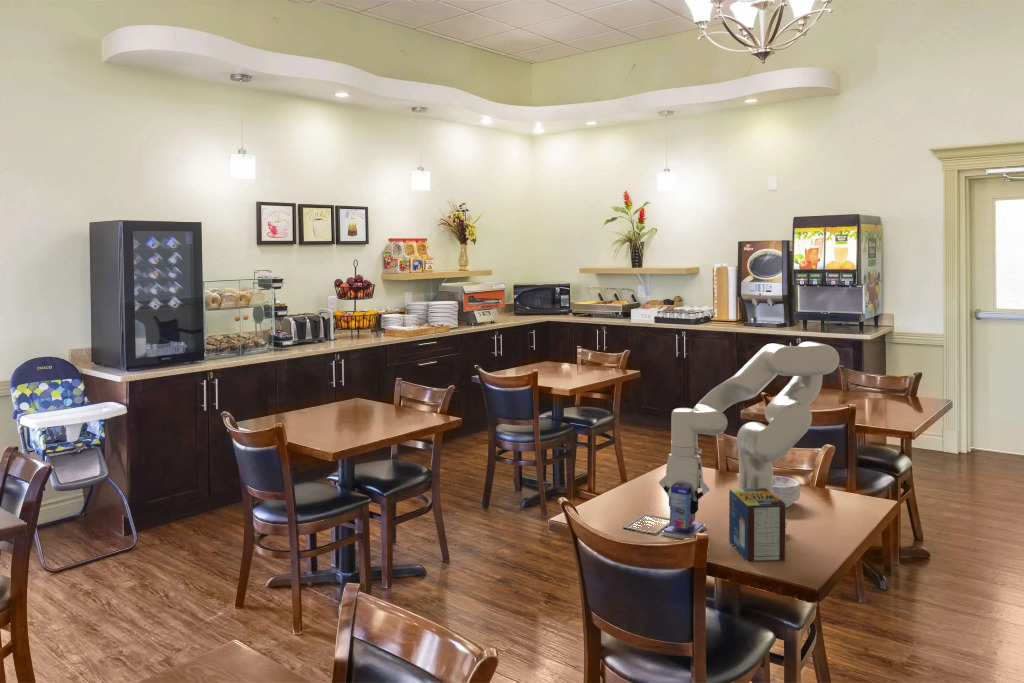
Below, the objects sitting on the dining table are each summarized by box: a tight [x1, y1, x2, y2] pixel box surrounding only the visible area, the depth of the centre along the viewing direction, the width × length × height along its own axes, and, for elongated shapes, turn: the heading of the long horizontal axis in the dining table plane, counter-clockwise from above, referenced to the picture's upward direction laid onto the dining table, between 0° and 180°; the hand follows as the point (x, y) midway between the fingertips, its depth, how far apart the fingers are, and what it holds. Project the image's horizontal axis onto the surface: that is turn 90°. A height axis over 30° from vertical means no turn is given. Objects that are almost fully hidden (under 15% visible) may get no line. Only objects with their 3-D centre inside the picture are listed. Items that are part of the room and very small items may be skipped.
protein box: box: [728, 488, 787, 562], centre depth 209 cm, size 10×15×16 cm
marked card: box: [622, 513, 670, 535], centre depth 232 cm, size 11×15×1 cm
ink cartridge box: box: [669, 484, 696, 529], centre depth 225 cm, size 10×6×14 cm, turn 152°
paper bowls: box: [773, 475, 801, 508], centre depth 250 cm, size 15×15×8 cm
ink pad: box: [661, 521, 707, 540], centre depth 226 cm, size 9×13×2 cm
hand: (683, 510), depth 225 cm, fingers closed on ink cartridge box, 5 cm apart
